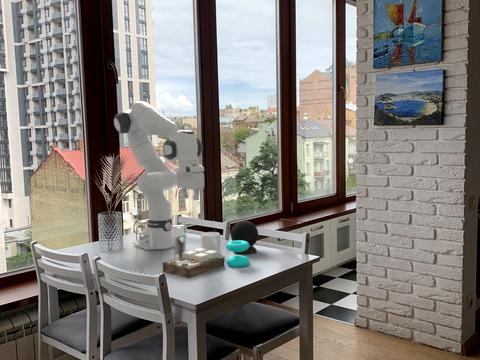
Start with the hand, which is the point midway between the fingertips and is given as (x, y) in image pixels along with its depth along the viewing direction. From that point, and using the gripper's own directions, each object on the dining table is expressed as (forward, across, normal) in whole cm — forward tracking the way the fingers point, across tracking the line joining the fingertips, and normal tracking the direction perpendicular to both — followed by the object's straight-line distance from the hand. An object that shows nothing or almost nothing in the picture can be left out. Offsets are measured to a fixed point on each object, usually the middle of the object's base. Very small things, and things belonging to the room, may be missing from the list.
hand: (190, 199), depth 219 cm
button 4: (+27, +8, +4) cm, 28 cm away
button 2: (+27, +9, -2) cm, 28 cm away
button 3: (+26, +1, +2) cm, 26 cm away
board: (+29, +6, -4) cm, 30 cm away
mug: (+29, -7, +12) cm, 32 cm away
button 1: (+26, +3, -4) cm, 27 cm away
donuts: (+30, +12, +14) cm, 35 cm away
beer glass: (+29, -13, -1) cm, 31 cm away
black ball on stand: (+29, -5, +29) cm, 41 cm away
